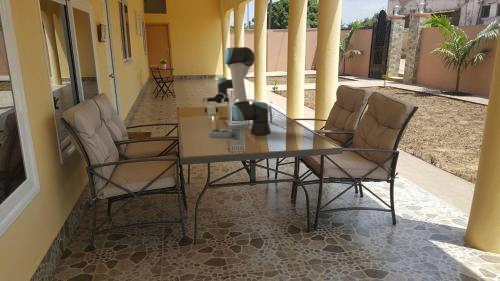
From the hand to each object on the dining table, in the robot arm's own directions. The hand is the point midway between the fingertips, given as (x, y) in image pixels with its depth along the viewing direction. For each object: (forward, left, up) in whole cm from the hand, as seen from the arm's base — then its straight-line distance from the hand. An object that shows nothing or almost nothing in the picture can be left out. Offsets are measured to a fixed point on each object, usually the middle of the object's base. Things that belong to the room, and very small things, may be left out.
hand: (213, 101), depth 274 cm
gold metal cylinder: (-4, +11, -23) cm, 26 cm away
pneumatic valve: (+15, -49, -23) cm, 56 cm away
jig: (-7, +11, -23) cm, 27 cm away
